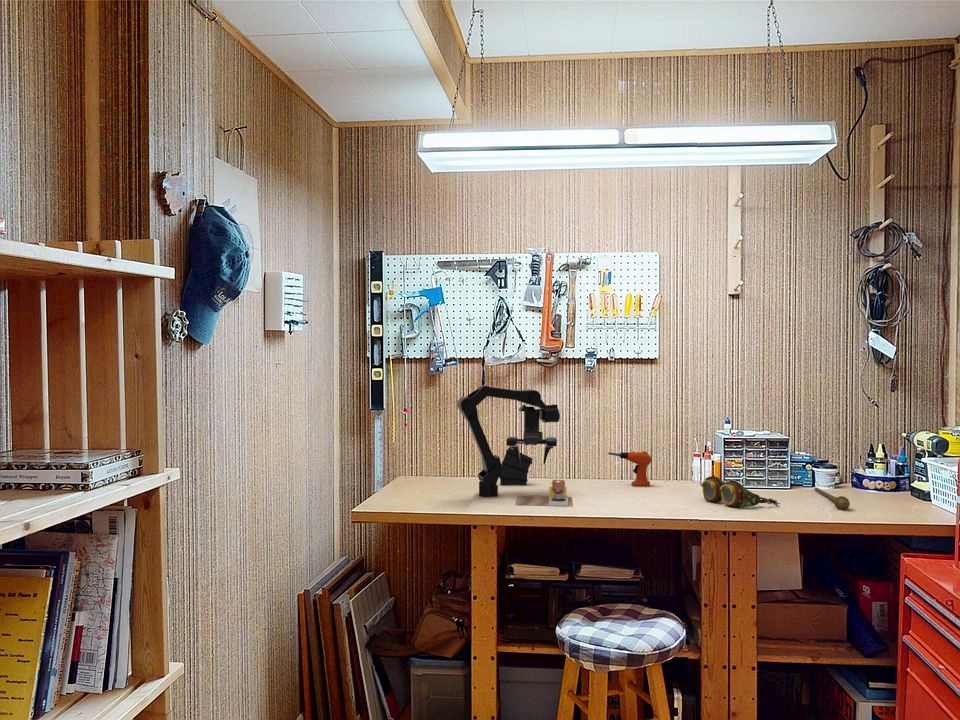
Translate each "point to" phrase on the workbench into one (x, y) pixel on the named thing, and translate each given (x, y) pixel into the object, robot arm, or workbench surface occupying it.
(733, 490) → the goggles
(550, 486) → the block
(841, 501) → the ball headed mace
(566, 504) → the frame
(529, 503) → the plywood board
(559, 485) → the copper and grey cylinder
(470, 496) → the workbench surface
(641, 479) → the toy drill
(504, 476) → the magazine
